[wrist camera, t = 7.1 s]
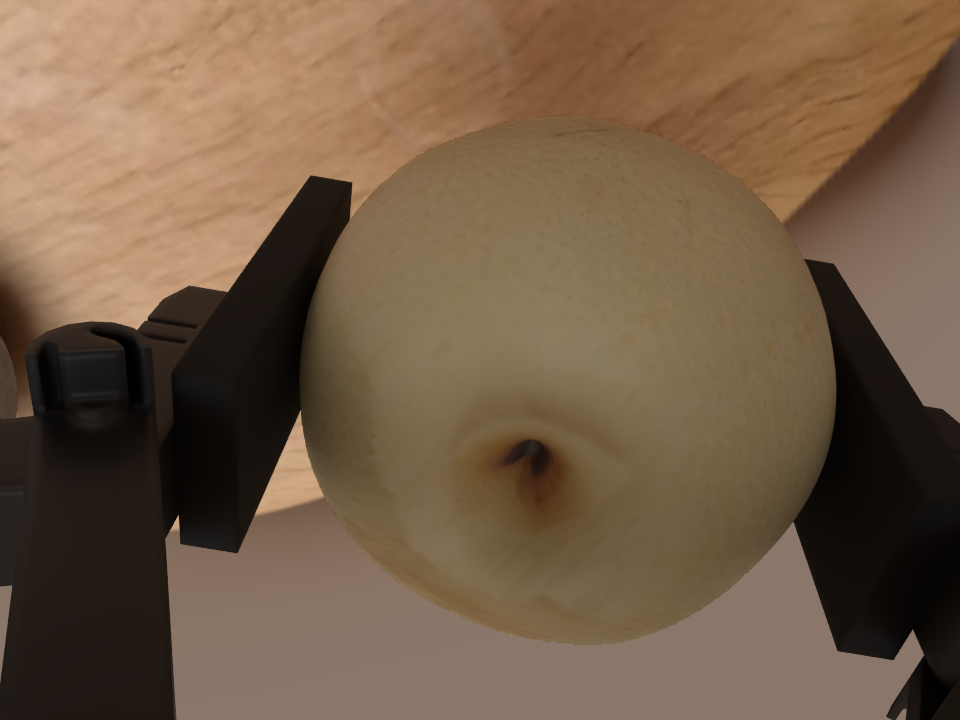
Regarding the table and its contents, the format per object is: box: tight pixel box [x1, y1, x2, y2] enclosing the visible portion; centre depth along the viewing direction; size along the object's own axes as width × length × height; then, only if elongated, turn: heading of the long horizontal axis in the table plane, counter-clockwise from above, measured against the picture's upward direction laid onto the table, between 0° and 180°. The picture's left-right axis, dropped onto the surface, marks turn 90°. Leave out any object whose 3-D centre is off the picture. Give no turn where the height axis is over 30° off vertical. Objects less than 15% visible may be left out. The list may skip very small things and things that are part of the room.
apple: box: [299, 115, 836, 645], centre depth 13 cm, size 8×8×8 cm
